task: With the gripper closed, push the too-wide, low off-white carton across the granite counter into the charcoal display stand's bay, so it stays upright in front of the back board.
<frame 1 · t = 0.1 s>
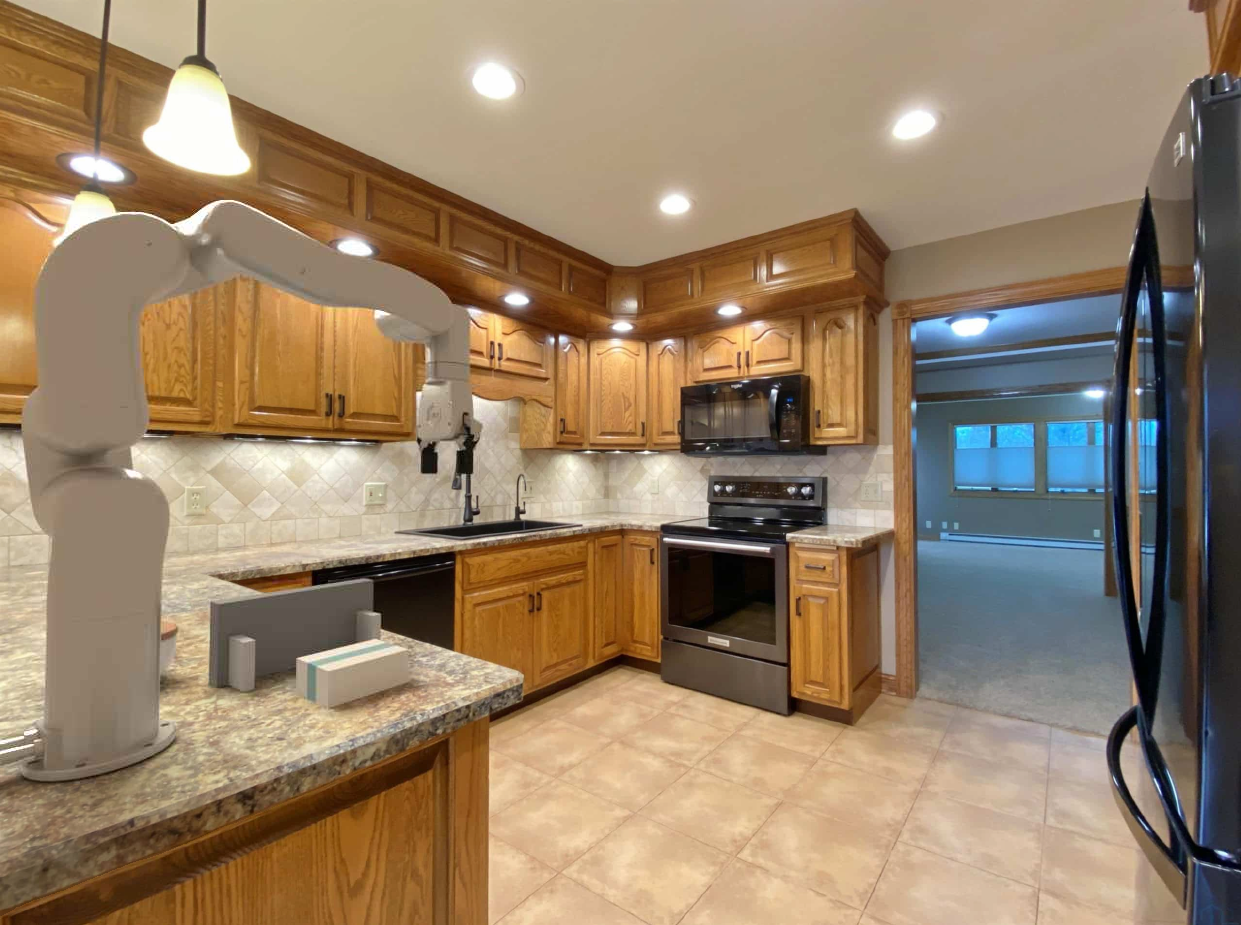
hand: (446, 473, 100), 31 cm above the counter, fingers open, 9 cm apart
carton: (353, 688, 83), on the counter
display stand: (298, 663, 93), on the counter
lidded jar: (130, 685, 84), on the counter
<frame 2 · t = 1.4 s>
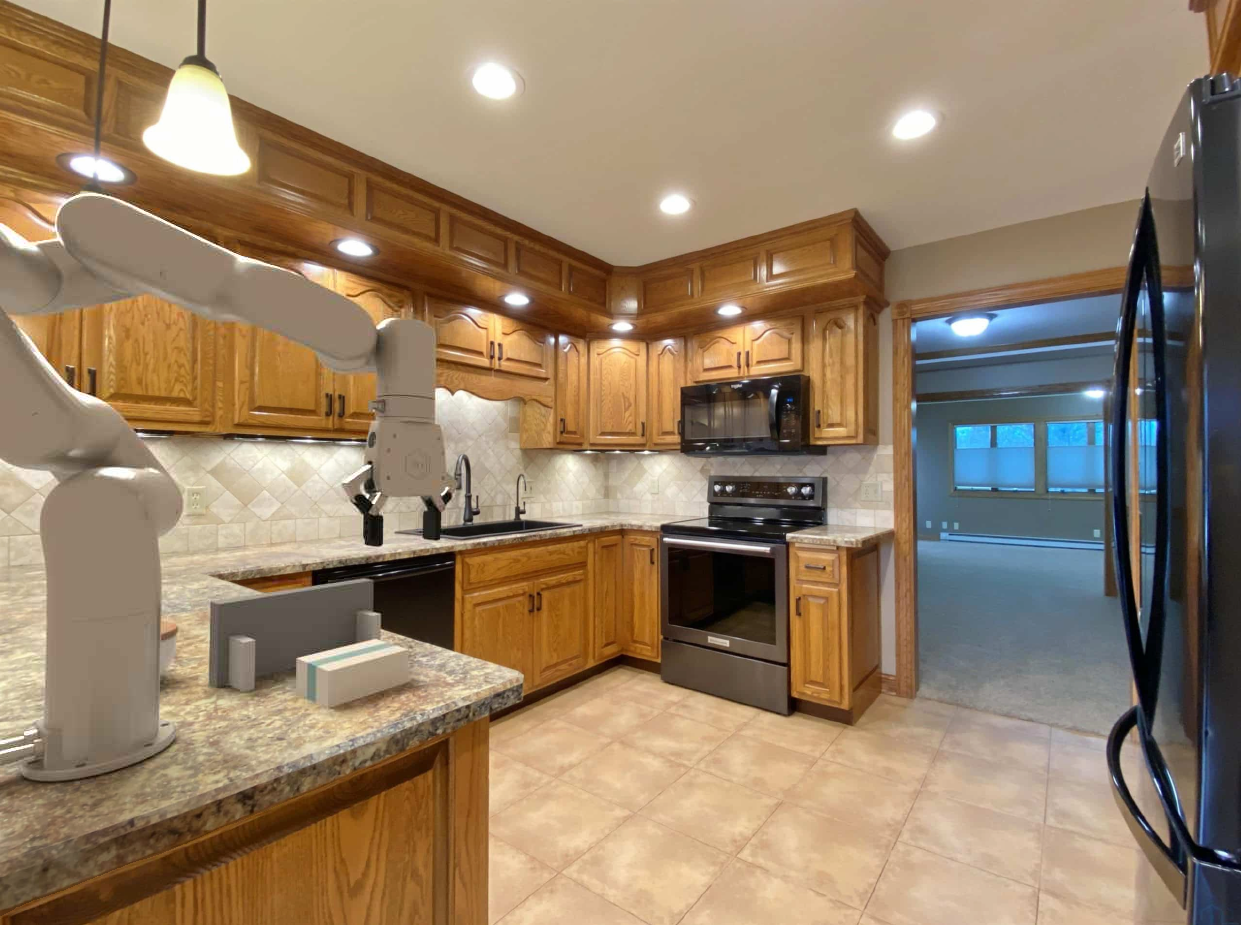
hand: (403, 542, 77), 22 cm above the counter, fingers open, 8 cm apart
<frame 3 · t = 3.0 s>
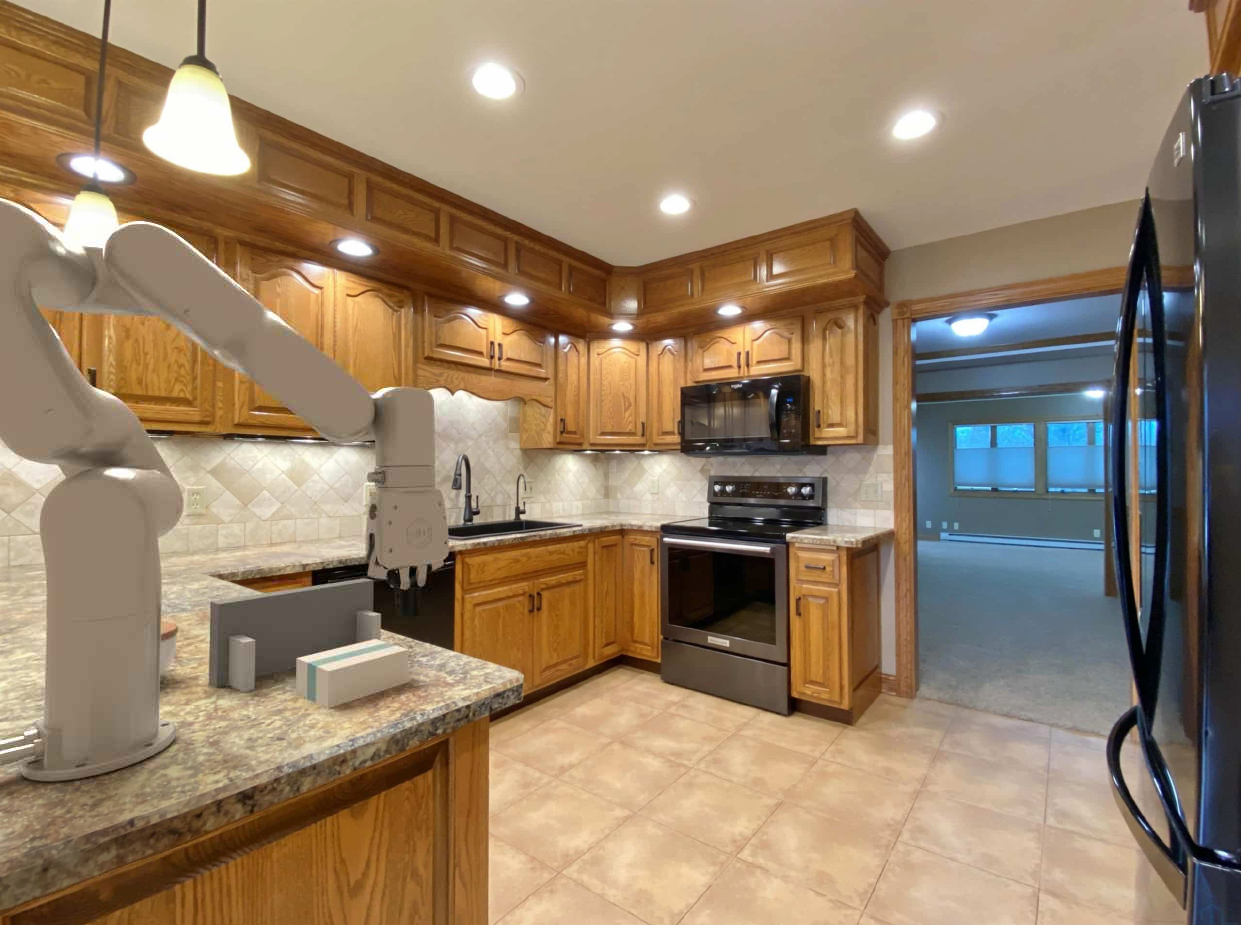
hand: (408, 616, 77), 12 cm above the counter, fingers closed
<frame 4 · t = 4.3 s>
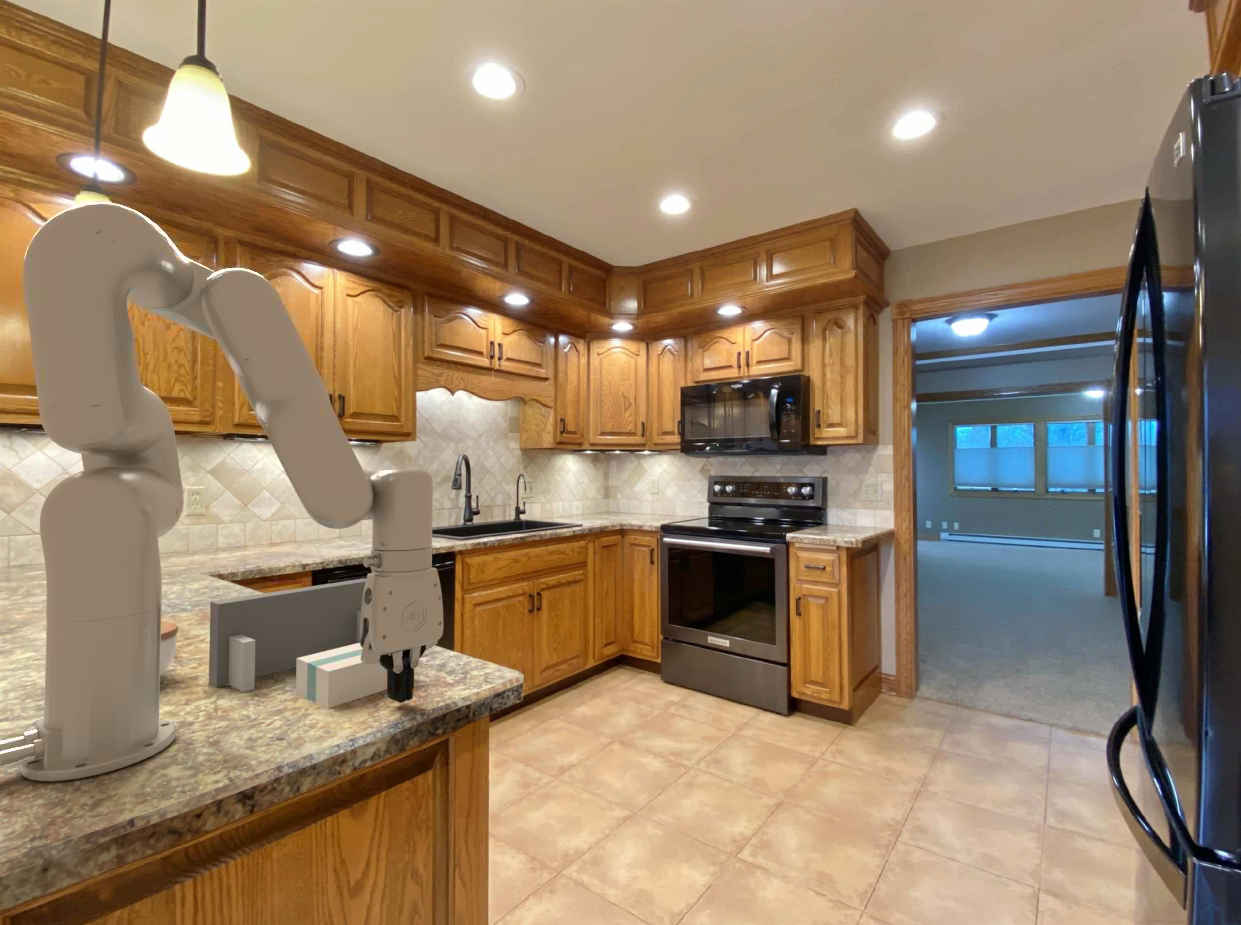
hand: (400, 698, 76), 1 cm above the counter, fingers closed
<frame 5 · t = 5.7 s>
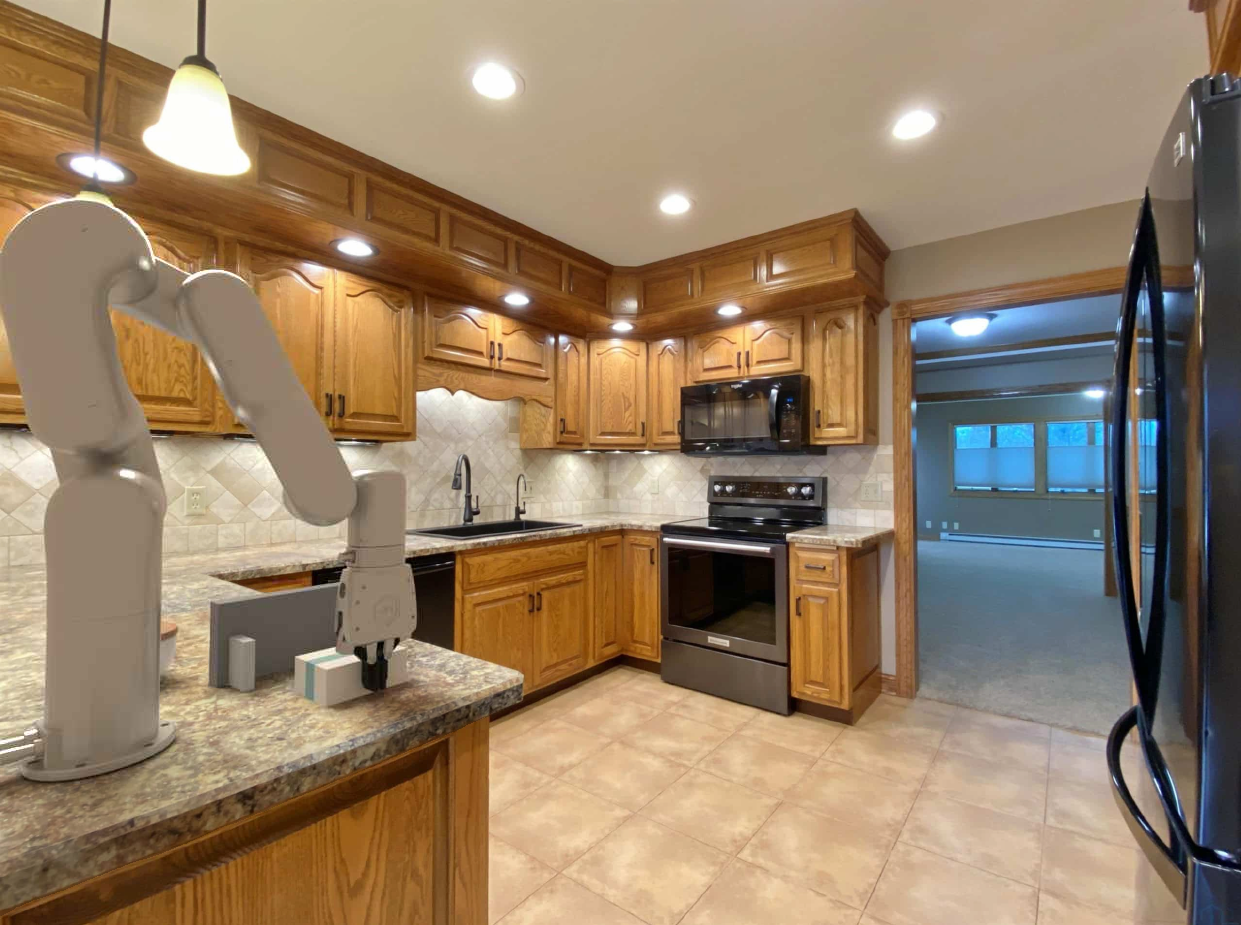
hand: (374, 688, 80), 1 cm above the counter, fingers closed
carton: (351, 686, 84), on the counter, touching gripper
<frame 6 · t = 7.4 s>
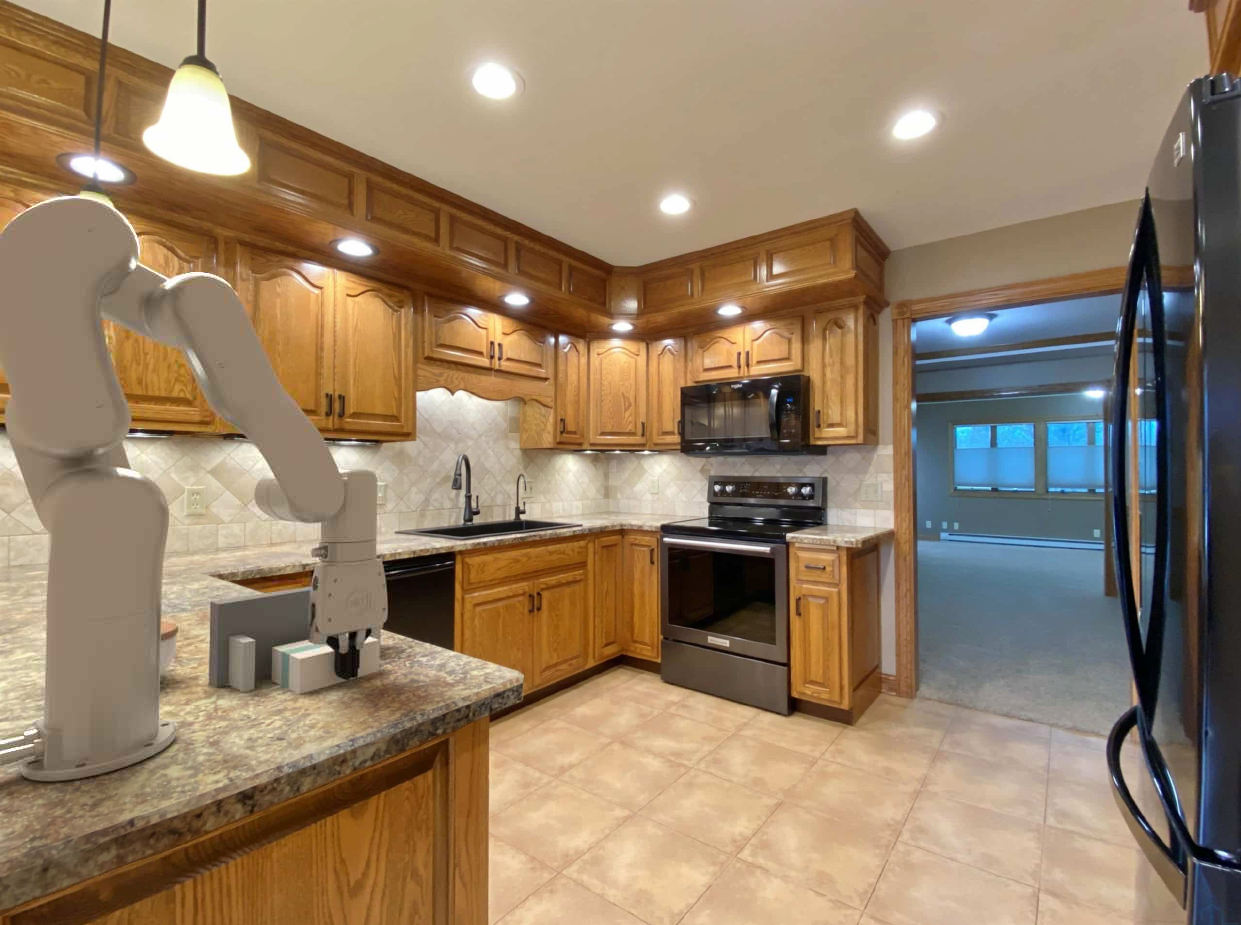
hand: (346, 676, 84), 1 cm above the counter, fingers closed
carton: (326, 676, 88), on the counter
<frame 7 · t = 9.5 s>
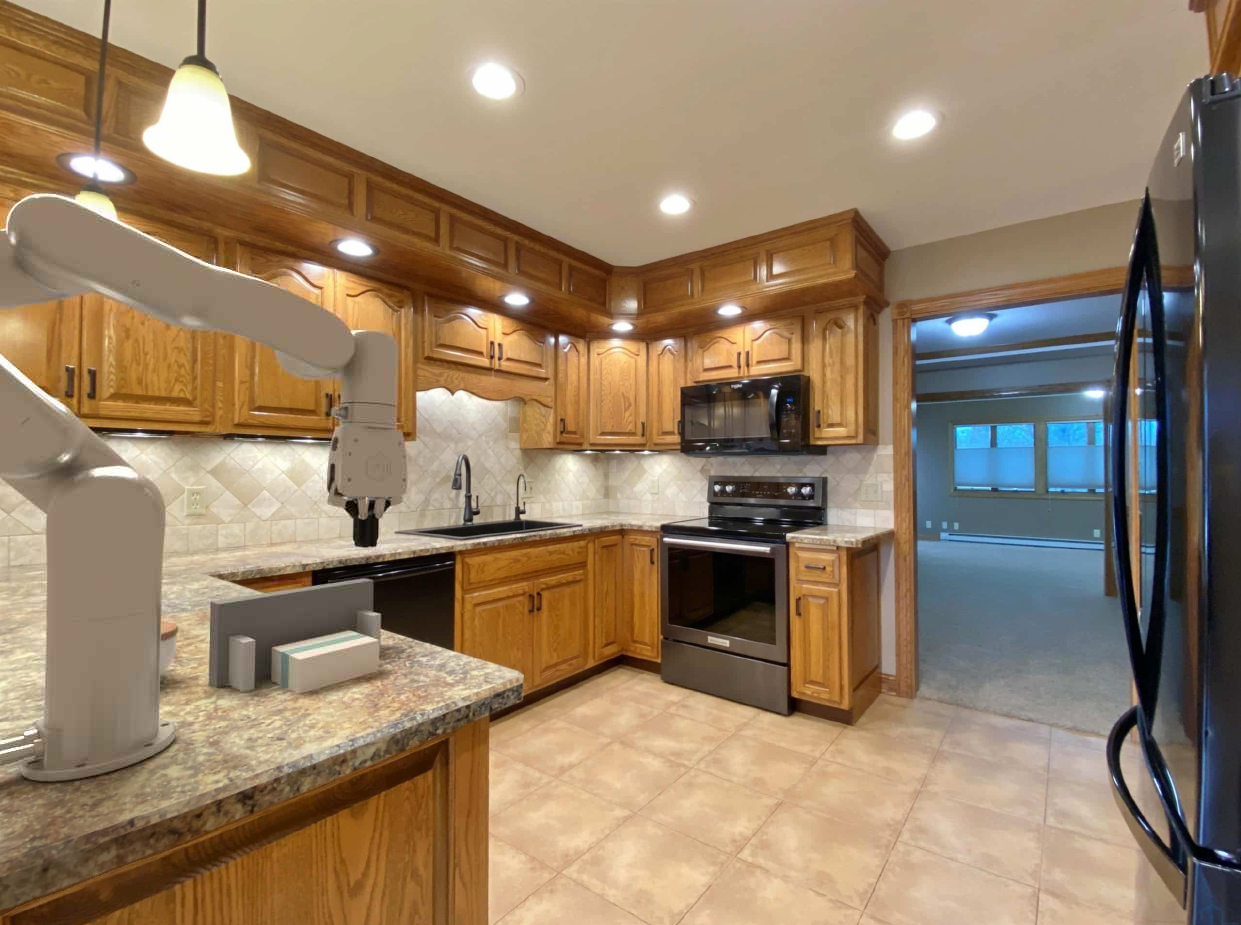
hand: (365, 546, 82), 21 cm above the counter, fingers closed
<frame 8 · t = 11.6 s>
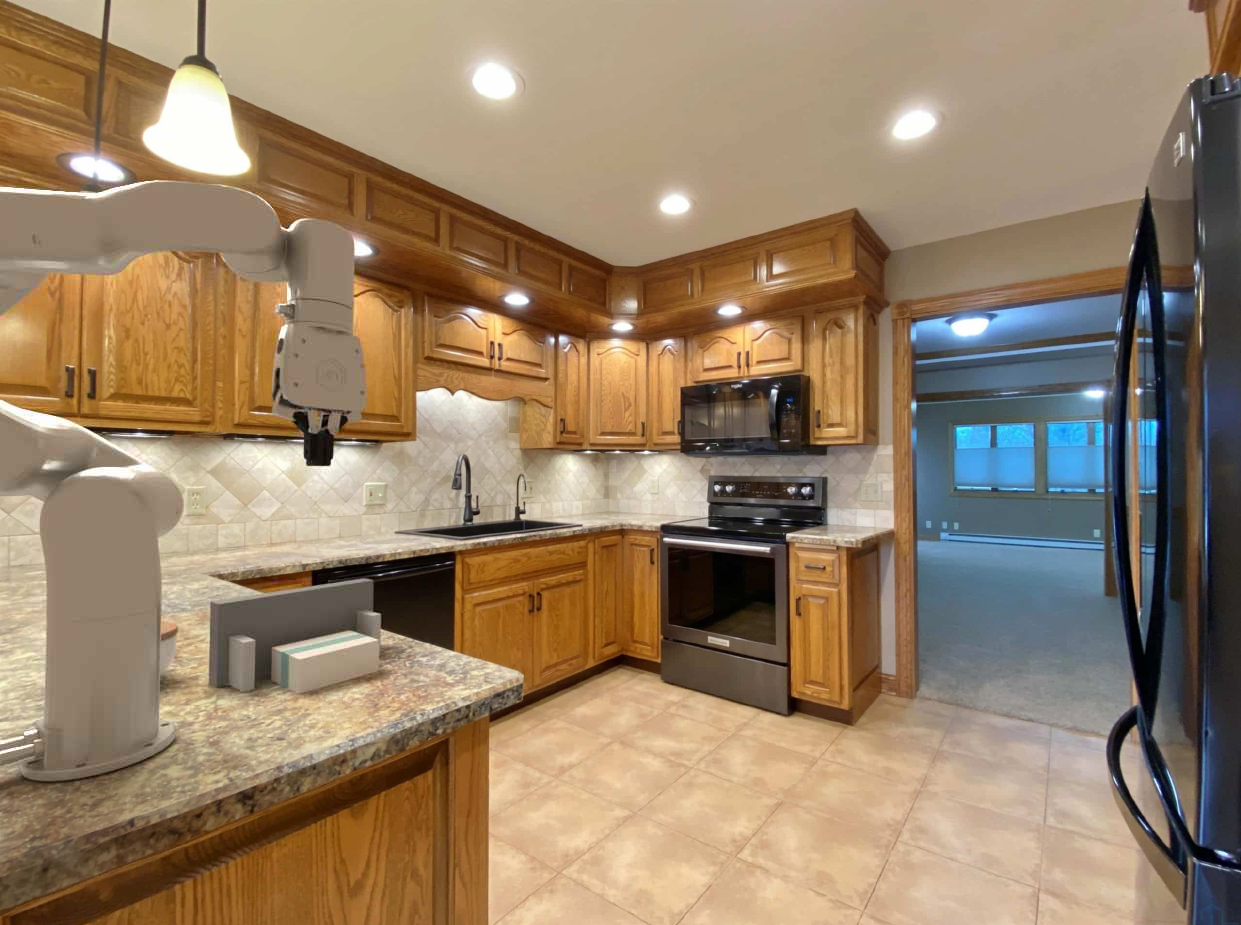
hand: (318, 465, 73), 32 cm above the counter, fingers closed
at the end: carton inside the target area (0.7 cm from its centre), on the counter; carton tilted 0°; carton moved 8.1 cm from its start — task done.
